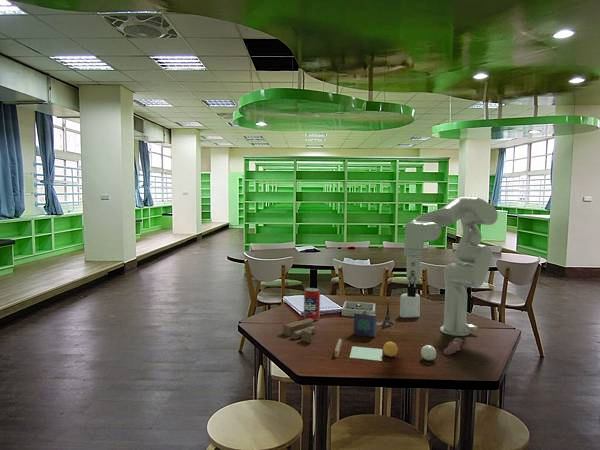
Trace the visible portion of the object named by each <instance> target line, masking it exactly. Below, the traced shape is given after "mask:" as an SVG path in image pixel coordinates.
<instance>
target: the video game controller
mask: <svg viewBox="0 0 600 450" xmlns="http://www.w3.org/2000/svg"><path fill="white" fill-rule="evenodd" d="M463 342H464V340H463V338H459V337H455V338H454V339H453V340H452V341H450V342H449V343H448V344H447V347H446V348H444V349H443V354H444V355H448V356H449V355H452V354H453V355H455V353H456V352H458V351H460V350H461V348H460V346H462V344H463Z"/></svg>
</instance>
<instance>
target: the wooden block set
mask: <svg viewBox="0 0 600 450" xmlns="http://www.w3.org/2000/svg"><path fill="white" fill-rule="evenodd" d="M316 331H317V330H316V326H314V321H313V319H311V318H307V319H305V318H304V319H301V320H295V321H292V322H287V323H285V324H282V334H283V335H284V336H287V337H292V339H294V340H298V339H301V341H302V342H305V343H308V344H310V345H311V344H312V335H313V334H315V333H316Z"/></svg>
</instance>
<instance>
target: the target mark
mask: <svg viewBox="0 0 600 450" xmlns="http://www.w3.org/2000/svg"><path fill="white" fill-rule="evenodd" d="M349 358H350V359H358V360H369V361H375V362H377V361H378V362H383V348H373V347H362V346H354V345H353V346H351V350H350V354H349Z"/></svg>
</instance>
